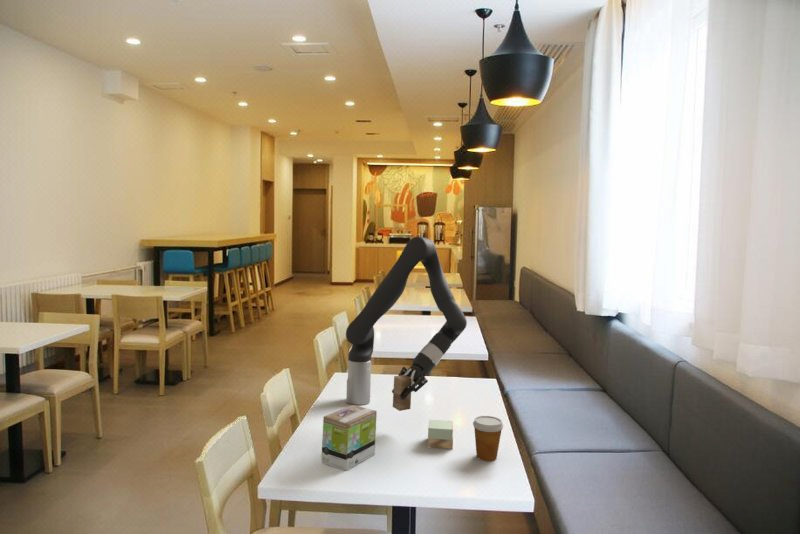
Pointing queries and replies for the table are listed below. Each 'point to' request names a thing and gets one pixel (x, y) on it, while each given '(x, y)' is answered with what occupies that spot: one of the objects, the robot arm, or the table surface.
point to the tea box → (348, 436)
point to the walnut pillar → (399, 386)
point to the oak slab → (440, 443)
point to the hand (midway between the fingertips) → (397, 395)
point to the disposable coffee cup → (487, 436)
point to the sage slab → (440, 429)
